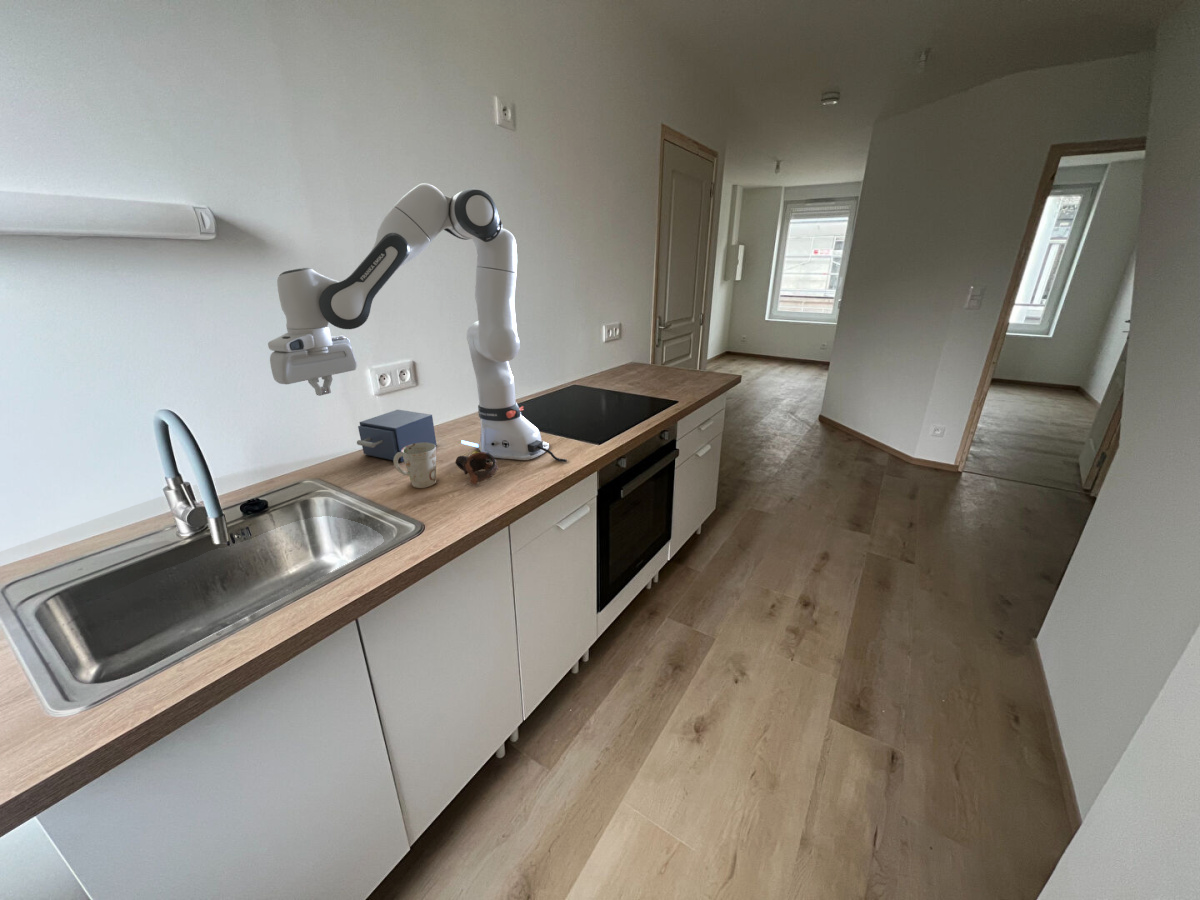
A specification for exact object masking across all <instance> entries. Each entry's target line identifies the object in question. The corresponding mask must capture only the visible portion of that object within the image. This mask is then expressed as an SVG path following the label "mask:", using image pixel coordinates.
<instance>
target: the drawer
mask: <svg viewBox="0 0 1200 900" xmlns="http://www.w3.org/2000/svg"><path fill="white" fill-rule="evenodd" d="M357 428H358V429H357V430H358V434H359V438H360V439H358V440H357V441H356V444H357V445H358V446H361V448H362V451H363V455H366V454H367V455H366V456H369V455H372V456H371V457H374V456H377V457H376V458H379V457H382V458H381V459H384V458H387V459H386V460H389V459H392V460H391V461H393V460H394V456H395V455H396V454H397V453H398V449H397V443H396V438H395V432H394V431H391V430H385V429H381V428H377V427H371V426H362V425H361V426H360V425H358V426H357Z"/></svg>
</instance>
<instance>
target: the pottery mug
mask: <svg viewBox="0 0 1200 900" xmlns="http://www.w3.org/2000/svg"><path fill="white" fill-rule="evenodd" d="M488 459H490V460H491V463H492V464H491V463H489V462H487V460H488ZM455 464H456V466H457V467H458V468H459V469H460V470H462V471H463V473H464V475H469V476H470V480H469V482H470V484H472V485H474V486H476V485H477V484H478V483H480V482H483V481H486V480H489V479H491V478H492V477H493V476H494V475H495V474H496V472H497V471H498V470H500V469H499V467H498V465H497V460H496V458H494V457H493V456H492V455H491V454H489V453H485V452H481V451H476V452H474V453H472V454H470V455H469V456H465V455H459V456H457V457H456V459H455Z"/></svg>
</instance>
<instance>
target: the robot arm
mask: <svg viewBox="0 0 1200 900" xmlns="http://www.w3.org/2000/svg"><path fill="white" fill-rule="evenodd" d="M442 231H445V232H447V233H449V234H450V235H451V236H453V237H455V238H457V239H461V240H463V241H464V240H465V241H466V240H472V242H473V243H474V246H475V249H476V255H477V257H476V269H475V286H474V299H475V303H476V310H477V319H478V320H477V321H475V322H473V323H471V325H470V326H469V327H468V329H467V331H466V341H467V344H468V348H469V353H470V358H471V363H472V366H473V370H474V374H475V375H474V376H475V380H476V386H477V396H478V405H477V410H478V411H477V412H478V417H479V420H480V433H479V443H475V442H470V441H467V440H463V439H462V440H461V444H462V445H465V446H470V447H474V448H477V449H478V451H479V452H485V453H489V454H491V455H492V456H493V457H494V458H495V459H506V460H517V461H529V460H532V459H536V458H538V457H539V456H541V455H543V454H544V453H547V454H549V455H550V456H551V457H552V458H553V459H554V460H555V461H557V462H563V463H567V461H568V460H567V459H565V458H559V457H557V456H555V454H554V453H553V452H552V451H551V450H549V449H550V445H549V442H546V441H544V440H542V435H541V432H540V430H539V428H538V427H536V426H535V424H533V423H532V422H530V421H529V419H527V418H526V417H524V416H523V415H522V411H524V405H522V406H520V407H519V404H518V403H517V401H516V388H515V378H514V375H513V373H512V370H511V365H510V361H512V360H513V359H515V358H516V356H517V355H518V354H519V352H520V349H521V343H520V342H521V341H520V338H519V335H518V330H517V316H516V308H515V307H516V305H515V302H516V301H515V299H516V298H515V297H516V284H517V270H518V253H517V241H516V237H515V236H514V234H513V233H512V232H511V231H509V230H508V229H507V228H504V227H503V223H502V220H501V217H500V215H499V212H498V209H497V206H496V202H495V201H494V199H493V198H492V196H490V195H489V193H487V192H486V191H485V190H482V189H480V188H473V187H472V188H471V187H469V188H466V189H464V190H461V191H460V192H458V193H456V194H455V195H453V196H448V195H445V194H444V193H443V192H442V191H441V190H440V189H439V188H438V187H436V186H434V185H432V184H430V183H427V182H423V183H419V184H418V185H416V186H415V187H413V188H412V189H410V191H408V192H407V193H406V194H404V195H403V196H402V197H401V198H400V199H399V200H398V201H397V202H396V203H395V204H394V205H393V206H392V208H391V209H390V210H389V211H388V212H387V214H386V215H385V217H384V218H383V220H382V221H381V223H380V225H379V227H378V229H377V233H376V238H375V242H374V245H373V247H372V248H371V250H370V251H369V253H368V254H367V256H366V257H365V258H364V259H363V260H362V261H361V262H360V264H359V265H358V266H357V267H356V269H355V270H353V272H352V273H351V274H350V275H349V276H348V277H347V278H345V279H343V280H341V281H339V280H336V279H333V278H330V277H327V276H325V275H323V274H321V273H319V272H317V271H315V270H314V269H313V268H310V267H302V268H296V269H295V268H294V269H290V270H286V271H283V272H281V273H280V274H279V275H278V277H277V279H276V286H277V293H278V299H279V304H280V307H281V310H282V312H283V314H284V316H285V318H286V324H285V325H286V333H284V334H281V335H280V336H278V337H276V338H274V339H272V340H269V341H268V342H267V347H268V349H269V350H270V351H273V352H272V353H271V354H270V355H269V364H270V369H271V374H272V377H273V380H274V381H275V382H276V383H278V384H280V385H291V384H296V383H300V382H305V381H307V383H308V384H309V385H310V386H311V387H312V388H313V389H314V392H315V395H316V396H324V395H325V396H326V395H328V394H331V393H332V391H331V385H332V382H333V375H338V374H343V373H348V372H352V371H353V372H354V371H356V370H357V367H358V363H357V360H356V359H357V358H356V355H355V353H354V351H353V348H352V343H351V340H350V339H349V338H348V337H346V336H345V335H341V334H340V335H337V336H335V335H334V336H332V334H331V330H330V325H329V324H331V326H333V327H336V328H337V329H341V330H354V329H357V328H359V327H361V326H363V325H364V324H365V323H366V322H367V321H368V319H369V316H370V313H371V308H372V304H373V302H374V299H375V297H376V295H377V294H378V293H379V292H380V290H382V288H383V287H384V286H385V285H386V284H387V282H388V281H389V280H390V279H391V277H392V276H393V275H394V274H395V272H396V271H398V270H399V269H400V268H402V267H403V266H404V265H407V264H408V263H409V262H411V261H412V260H413V259H416V257H418V256H419V255H420V254H422V253H423V251H425V250H426V249H427V248H428V246H430V244H431V243H432V242H433V241H434V239H435V238H436V237H437V236H438V235H439V234H440V233H441V232H442ZM320 378H321V380H323V383H322V386H321V385H320V384H319V382H320Z"/></svg>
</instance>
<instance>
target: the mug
mask: <svg viewBox="0 0 1200 900" xmlns="http://www.w3.org/2000/svg"><path fill="white" fill-rule="evenodd" d="M402 456H403V459H404V461H403V462H404V466H405V468H406V471H405V470H403V469H402V467H401V466H400V464H399V462H398V459H399V458H400V457H402ZM392 463H393V466H394V468H395V469H396V470H397V471H398V472H399V473H400V474H402V475H403V476H408V477H409V480H410V483H411V486H412V487H413V488H417V489H425V488H428V487H432V486H434V485H435V484H436V483H437V446H435V445H434V444H432V443H415V444H411V445H408V446H405V447H404V448H403V449H402V450H401V452H398V453H397V454H396V455H395V456H394V460H392Z"/></svg>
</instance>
